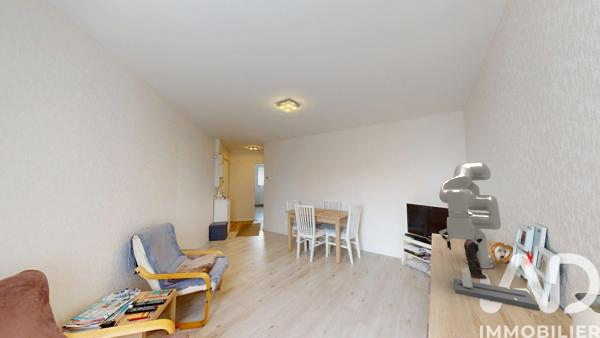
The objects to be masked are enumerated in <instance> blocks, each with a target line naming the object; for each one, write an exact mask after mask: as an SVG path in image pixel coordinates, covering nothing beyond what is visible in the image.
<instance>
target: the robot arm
mask: <svg viewBox="0 0 600 338" xmlns="http://www.w3.org/2000/svg"><path fill="white" fill-rule="evenodd" d="M491 175H492V174H491V170H490V168H489V167H488V165H487V164H486V163H484V162H481V161H477V162H469V163H461V164H458V165H456V166H455V168H454V171H453V177H451V178H449V179H448V180H447V181H445V182H444V183H443V184H441V187H440V191H439V193H438V194H439V195H438V196H439V199H440V201H441V202H442V203H444V204H447V208H448V209H447V211H448V216H447V217H446V218H447V219H446V228H444V229H441V230H440V231H438V233H439V234H440V236H441V238H442V239H443V240H445V241H446V246H447V248H448V249H449V251H452V246H451V245H452V244H451V240H452V239H455V240H465V241H466V240H472V241H473V242H474V243H473V245H474V252H475V253H476V255H477V258H478V259H479V262H480V266H481V269H493V268H494V264H493V263H492V262H493V261H495V260H496V259H495V257H493V256H490V255H489V248H488V241H487V235H486V234H485V233H484V232H483V231H482V229H483V230H492V231H493V230H494V231H495V230H496V231H497V230H500V229H501V225H502V224H501V216H500V209H499V208H500V207H499V203H498V200H497V198H496V197H495V196H494V195H491V194H490V195H489V194H483V195H482V194H481V193H480V187H479V186H478V184H476V183H475V182H476V181H487V180H489V179H490V178H491ZM474 181H475V182H474ZM468 210H469V211H472V212H469V211H468ZM473 211H482V212H473ZM484 211H485V212H484ZM445 233H447V235H448V236H446V235H445ZM465 263H466V264H467V265H468V262H467V259H466V260H465Z"/></svg>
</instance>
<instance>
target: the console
mask: <svg viewBox="0 0 600 338" xmlns="http://www.w3.org/2000/svg"><path fill="white" fill-rule="evenodd" d="M471 283H472V286H473V289H471V288H466V287H463V284H462V280H461V279H459V278H454V277H453V285H454V291H455V294H457V295H461V296H462V295H463V296H468V297H472V298H476V299H482V300H487V301H491V302H496V303H501V304H506V305H511V306H515V307H521V308H525V309H531V310H536V311H540V306H539V304H538V303H537V302H536V300H535V298H533V297H532V295H531V294H530V293H529V291H528V290H523V289H517V288H511V287H507V286H506V287H505V286H500V285H495V284H494V285H493V284H489V283H488V284H487V283H483V282H476V281H472V280H471Z"/></svg>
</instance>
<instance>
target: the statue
mask: <svg viewBox="0 0 600 338" xmlns="http://www.w3.org/2000/svg"><path fill="white" fill-rule="evenodd" d="M473 243H474V242H473V241H472V240H466V239H465V241H464V244H463V248H464V253H465V258H466V260H467V262H468V264H467V267H468V269H469V271H470V275H471V277H472V278H474V279H485V280H486V279H487V278H488V277H487V275H486V274H484V273H483V270H482V269H483V268H481V266H480V262H479V259H478V258H477V255H476V253H475V252H474V245H473Z"/></svg>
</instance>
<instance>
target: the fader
mask: <svg viewBox="0 0 600 338" xmlns="http://www.w3.org/2000/svg"><path fill="white" fill-rule="evenodd" d="M460 273H461V279H460V280H462V284H463V287H466V288H471V289H473V286H472V283H471V281H472V278H471V277H472V275H471V274H470V271H469V268H467V267H466V268H465V267H460Z"/></svg>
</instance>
